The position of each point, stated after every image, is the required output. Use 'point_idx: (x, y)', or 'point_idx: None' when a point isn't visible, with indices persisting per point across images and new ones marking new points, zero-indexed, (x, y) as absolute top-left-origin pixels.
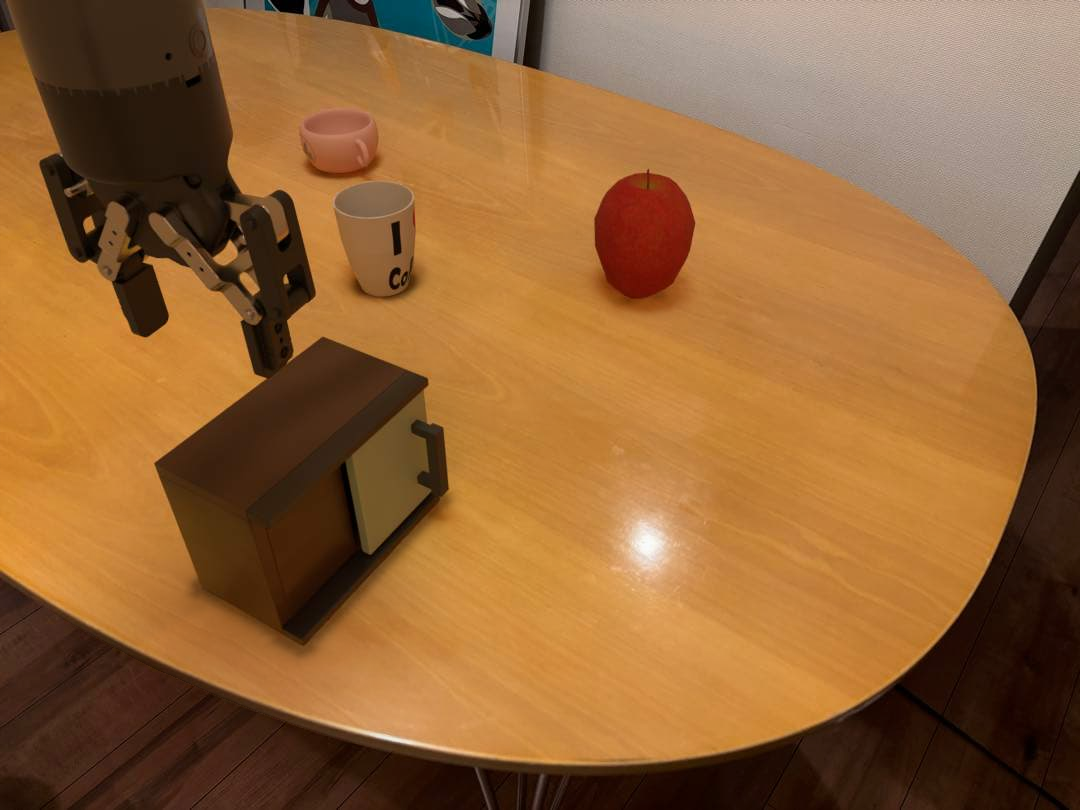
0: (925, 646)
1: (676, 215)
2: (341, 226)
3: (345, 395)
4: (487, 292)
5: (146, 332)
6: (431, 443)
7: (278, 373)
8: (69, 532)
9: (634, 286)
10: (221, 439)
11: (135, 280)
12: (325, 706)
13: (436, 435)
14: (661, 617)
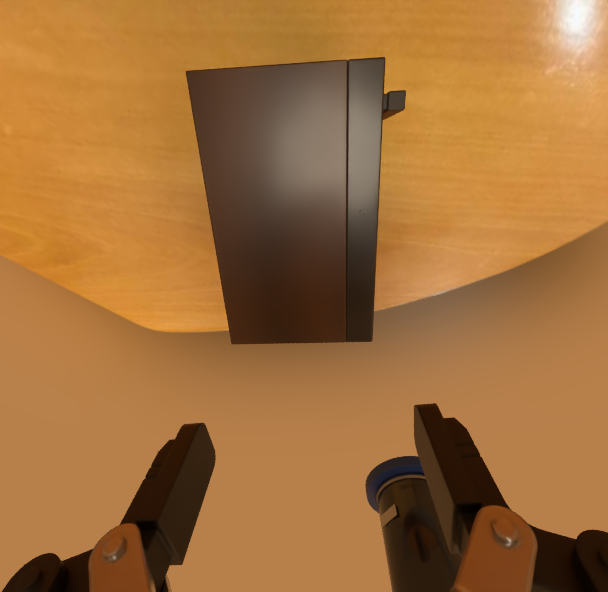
0: None
1: None
2: None
3: (311, 163)
4: None
5: (212, 457)
6: (393, 112)
7: (209, 179)
8: (147, 294)
9: None
10: (254, 294)
11: (176, 541)
12: (394, 298)
13: (404, 108)
14: (604, 99)
